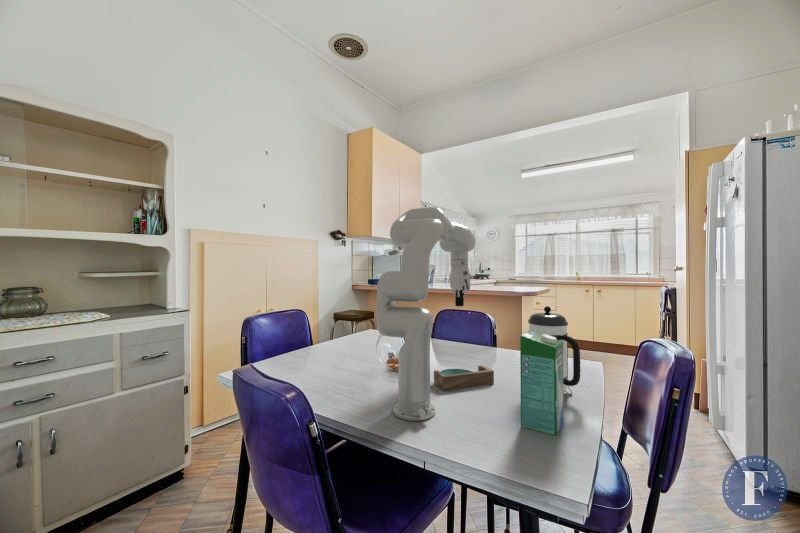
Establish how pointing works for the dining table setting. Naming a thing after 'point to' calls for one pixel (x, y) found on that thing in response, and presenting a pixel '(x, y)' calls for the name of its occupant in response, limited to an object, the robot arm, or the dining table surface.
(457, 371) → the saucer
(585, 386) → the dining table surface
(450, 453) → the dining table surface
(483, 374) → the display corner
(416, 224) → the robot arm
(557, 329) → the coffee press
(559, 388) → the milk carton
